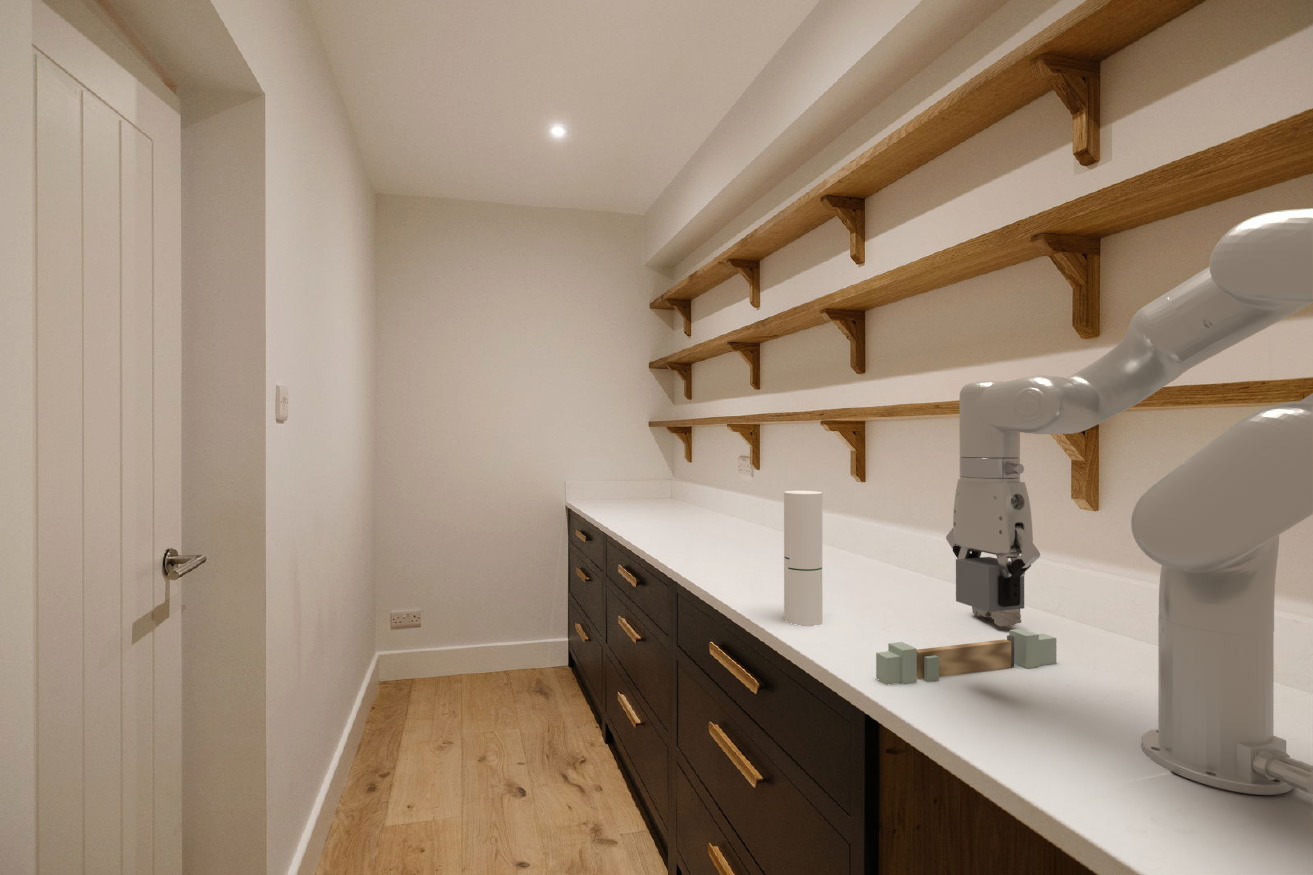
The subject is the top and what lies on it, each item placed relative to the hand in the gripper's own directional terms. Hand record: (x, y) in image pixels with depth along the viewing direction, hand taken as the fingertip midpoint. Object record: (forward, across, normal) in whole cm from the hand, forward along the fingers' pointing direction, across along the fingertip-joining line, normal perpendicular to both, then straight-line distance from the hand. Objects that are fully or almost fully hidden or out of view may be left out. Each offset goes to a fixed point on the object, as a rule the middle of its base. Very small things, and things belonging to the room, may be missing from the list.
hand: (989, 598), depth 90 cm
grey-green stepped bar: (+13, +7, -11) cm, 18 cm away
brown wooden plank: (+13, +7, -11) cm, 18 cm away
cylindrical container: (+13, +37, +8) cm, 40 cm away
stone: (+13, +25, -26) cm, 39 cm away
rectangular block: (+1, 0, 0) cm, 1 cm away
